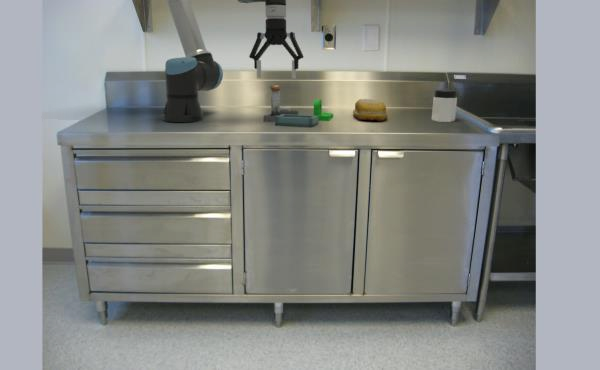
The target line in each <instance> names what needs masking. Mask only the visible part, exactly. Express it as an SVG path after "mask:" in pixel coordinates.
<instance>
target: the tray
mask: <svg viewBox="0 0 600 370" xmlns="http://www.w3.org/2000/svg"><path fill="white" fill-rule="evenodd" d="M274 123H275V124H274V126H280V127H282V126H284V127H297V128H299V127H301V128H302V127H303V128H314V127H315V126H317V125H319V121H318V116H314V114H312V115H311V114H308V115H307V114H298V115H291V114H282V115H279V116H276V117H275V122H274Z"/></svg>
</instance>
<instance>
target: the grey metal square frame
mask: <svg viewBox="0 0 600 370" xmlns="http://www.w3.org/2000/svg"><path fill="white" fill-rule="evenodd" d="M280 115H282V114H280ZM275 117H276V116H271V113H268V114H265V115H263V122H274V123H275Z"/></svg>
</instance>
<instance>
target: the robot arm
mask: <svg viewBox="0 0 600 370" xmlns="http://www.w3.org/2000/svg"><path fill="white" fill-rule="evenodd" d="M166 1H167V5H168V8H169V10H170V14H171V18H172V20H173V23H174V26H175V29H176V31H177V34H178V37H179V41H180V43H181V46H182V49H183V52H184V55H185V56H183V57H174V58H169V59H167V60H166V61H165V63H164V64H165V66H164V68H165V69H164V72H165V88H166V102H165V106H164V110H163V114H162V120H163V121H164V122H169V123H170V122H172V123H194V122H201V121H203V120H204V112H203V110H202V107H201V104H200V102H199V92H203V91H204V92H209V91H212V90H216V89H217V88H218V87H220V85H221V84H222V81H223V77H224V72H223V71H224V70H223V68H222V66H221V65H220V63H218V62H217V61H215V60H214V57H213V54H212V52H211V51H208V50H207V48H206V46H205V42H204V39H203V37H202V34H201V30H200V27H199V24H198V21H197V18H196V15H195V11H194V9H193V6H192V3H191V0H166ZM237 2H238V3H243V4H251V3H265V4H264V5H265V9H264V10H265V18H266V19H265V31H264V32H260V31H259V32H256V33H257V35H256V40H255V42H254V44H253V47H252V48H251V50H250V51H251V52H250V53H249V56H248V57H249V58H250V59H251V60H253V61H254V63H253V64H254V69H255V70H256V78H257V79H262V60H261V59H260V58H262V57H263V55H264V53H265V52H266V50H267V49H268V48H269V47H270V46H282V47H284V48H285V50H286V51H287V52H288V54H289V55H290V56H291V58H293V60H291V79H297V70H298V69H299V60H302V59H303V58H304V54H303V52H302V50H301V48H300V46H299V44H298V42H297V39H296V33H295V32H293V31H290V32H287V20H286V19H285V18H287V0H237ZM287 38H289V40H290V41H291V44H292V46H293V47H294V50H295V51H294V50H293V49H292V47H291V46H290V45H289V44H288V42H287V40H286V39H287ZM263 39H266V40H265V41H264V43H263V45H262V46H261V47H260V45H261V44H262V40H263ZM259 47H260V49H259ZM258 49H259V50H258Z"/></svg>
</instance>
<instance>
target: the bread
mask: <svg viewBox="0 0 600 370" xmlns="http://www.w3.org/2000/svg"><path fill="white" fill-rule="evenodd" d="M354 106H355V107H354V109H353V111H352V114H353V115H354V117H355V118H356V119H358V121H362V120H363V121H377V122H382V121H385V120H386V119H387V117H388V113H387V108H386V104H385V102H383V101H382V100H379V99H373V98H371V99H369V98H361V99H358V100H357V101H356V102H355V104H354Z"/></svg>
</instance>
